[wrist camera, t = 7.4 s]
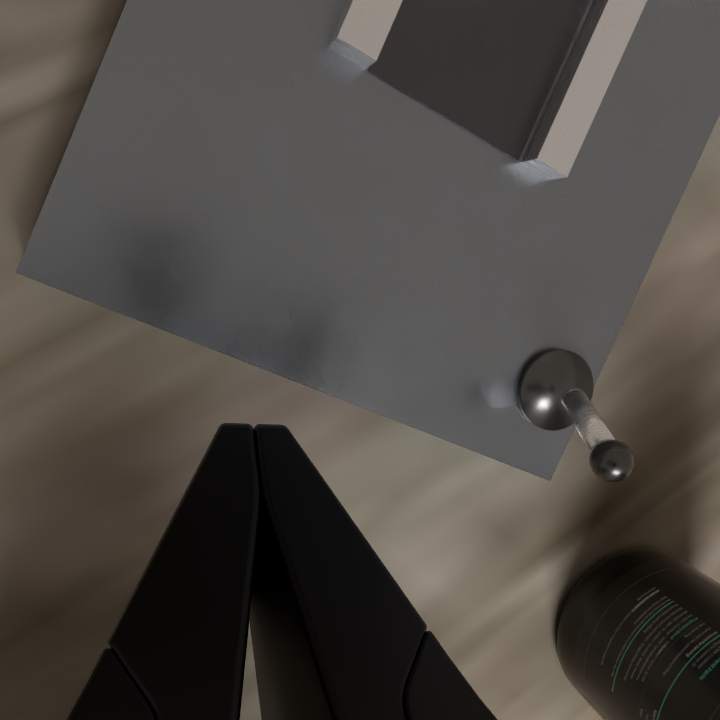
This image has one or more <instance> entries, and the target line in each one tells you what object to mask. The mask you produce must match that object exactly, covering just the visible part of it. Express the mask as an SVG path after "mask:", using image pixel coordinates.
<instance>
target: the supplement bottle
mask: <svg viewBox="0 0 720 720" xmlns="http://www.w3.org/2000/svg"><path fill="white" fill-rule="evenodd" d="M557 650H558V656H559V660H560V663H561V666H562V669H563V671H564V673H565V675H566V677H567V678H568V680H569V681H570V682H571V684H572V685H573V686H574V688H575V689H576V690H577V691H578V692H579V693H580V694H581V696H582V697H583V698H584V699H585V700H586V701H587V702H588V703H589V705H590V706H591V707H592V708H593V709H594V710H595V711H596V712H597V713H598V714H599V715H600V716H601V718H602V719H603V720H720V584H719V583H718V582H716V581H715V580H713V579H711V578H710V577H708V576H707V575H705V574H703V573H702V572H700V571H698V570H697V569H695V568H694V567H692V566H690V565H688V564H687V563H685V562H683V561H682V560H680V559H678V558H677V557H675V556H673V555H671V554H669V553H667V552H664V551H661V550H657V549H652V548H634V549H628V550H624V551H621V552H618V553H615V554H613V555H611V556H609V557H607V558H605V559H603V560H602V561H600V562H599V563H597V564H596V565H595V566H594V567H592V568H591V569H590V570H589V571H588V572H587V573H586V574H585V575H584V576H583V577H582V578H581V579H580V580H579V582H578V583H577V584H576V585H575V587H574V588H573V590H572V591H571V593H570V595H569V597H568V598H567V600H566V603H565V605H564V607H563V610H562V612H561V616H560V619H559V624H558V631H557Z"/></svg>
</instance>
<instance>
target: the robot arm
mask: <svg viewBox="0 0 720 720" xmlns="http://www.w3.org/2000/svg"><path fill="white" fill-rule="evenodd" d="M249 621H250V629H251V637H252V645H253V653H254V661H255V669H256V677H257V686H258V694H259V702H260V710H261V718H262V720H497V719H496V717H495V716H494V715H493V714H492V712H491V711H490V710H489V709H488V708H487V706H486V705H485V704H484V703H483V702H482V700H481V699H480V698H479V697H478V695H477V694H476V693H475V691H474V690H473V689H472V687H471V686H470V685H469V683H468V682H467V681H466V679H465V678H464V677H463V675H462V674H461V672H460V671H459V670H458V668H457V667H456V666H455V664H454V663H453V662H452V660H451V659H450V658H449V656H448V655H447V653H446V652H445V651H444V649H443V648H442V646H441V645H440V643H439V642H438V640H437V639H436V638H435V636H434V635H433V633H432V632H431V631H426V628H427V626H426V624H425V622H424V621H423V620H422V618H421V617H420V615H419V614H418V612H417V611H416V610H415V608H414V607H413V605H412V604H411V603H410V601H409V600H408V598H407V597H406V595H405V594H404V593H403V591H402V590H401V588H400V587H399V585H398V584H397V583H396V581H395V580H394V578H393V577H392V576H391V574H390V573H389V571H388V570H387V568H386V567H385V566H384V564H383V563H382V561H381V560H380V558H379V557H378V556H377V554H376V553H375V551H374V550H373V549H372V547H371V546H370V544H369V543H368V541H367V540H366V539H365V537H364V536H363V534H362V533H361V532H360V530H359V529H358V527H357V526H356V524H355V523H354V522H353V520H352V519H351V517H350V516H349V514H348V513H347V512H346V510H345V509H344V507H343V506H342V505H341V503H340V502H339V500H338V499H337V497H336V496H335V495H334V493H333V492H332V490H331V489H330V487H329V486H328V485H327V483H326V482H325V480H324V479H323V478H322V476H321V475H320V473H319V472H318V470H317V469H316V468H315V466H314V465H313V463H312V462H311V461H310V459H309V458H308V456H307V455H306V453H305V452H304V451H303V449H302V448H301V446H300V445H299V443H298V442H297V441H296V439H295V438H294V436H293V435H292V434H291V432H290V431H289V429H288V428H287V427H286V426H284V425H270V424H258V425H256V426H255V427H254V428H253V427H252V426H251V425H250V424H238V423H223V424H222V425H220V426H219V428H218V430H217V432H216V434H215V435H214V437H213V439H212V441H211V443H210V445H209V447H208V449H207V451H206V453H205V455H204V457H203V459H202V460H201V462H200V464H199V466H198V468H197V470H196V472H195V474H194V476H193V478H192V480H191V482H190V484H189V486H188V487H187V489H186V491H185V493H184V495H183V497H182V499H181V501H180V503H179V505H178V507H177V509H176V511H175V513H174V514H173V516H172V518H171V520H170V522H169V524H168V526H167V528H166V530H165V532H164V534H163V536H162V538H161V539H160V541H159V543H158V545H157V547H156V549H155V551H154V553H153V555H152V557H151V559H150V561H149V563H148V565H147V566H146V568H145V570H144V572H143V574H142V576H141V578H140V580H139V582H138V584H137V586H136V588H135V590H134V592H133V593H132V595H131V597H130V599H129V601H128V603H127V605H126V607H125V609H124V611H123V613H122V615H121V617H120V618H119V620H118V622H117V624H116V626H115V628H114V630H113V632H112V634H111V636H110V638H109V640H108V642H107V648H106V649H104V650H103V651H102V652H101V654H100V656H99V658H98V660H97V662H96V664H95V666H94V668H93V670H92V671H91V673H90V675H89V677H88V679H87V681H86V683H85V685H84V687H83V688H82V690H81V692H80V694H79V695H78V697H77V699H76V701H75V703H74V704H73V706H72V708H71V710H70V712H69V713H68V715H67V717H66V719H65V720H239V719H240V709H241V699H242V689H243V679H244V668H245V658H246V648H247V638H248V628H249Z"/></svg>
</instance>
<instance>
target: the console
mask: <svg viewBox="0 0 720 720" xmlns="http://www.w3.org/2000/svg"><path fill="white" fill-rule="evenodd" d="M719 115H720V0H127V2H126V4H125V7H124V9H123V11H122V14H121V16H120V19H119V21H118V24H117V26H116V29H115V31H114V33H113V36H112V38H111V41H110V43H109V46H108V48H107V51H106V53H105V55H104V58H103V60H102V63H101V65H100V68H99V70H98V73H97V75H96V77H95V80H94V82H93V85H92V87H91V90H90V92H89V95H88V97H87V99H86V102H85V104H84V107H83V109H82V112H81V114H80V117H79V119H78V121H77V124H76V126H75V129H74V131H73V134H72V136H71V139H70V141H69V143H68V146H67V148H66V151H65V153H64V156H63V158H62V161H61V163H60V165H59V168H58V170H57V173H56V175H55V178H54V180H53V183H52V185H51V187H50V190H49V192H48V195H47V197H46V200H45V202H44V205H43V207H42V209H41V212H40V214H39V217H38V219H37V222H36V224H35V227H34V229H33V231H32V234H31V236H30V239H29V241H28V244H27V246H26V249H25V251H24V254H23V256H22V258H21V261H20V263H19V266H18V268H17V271H16V273H18V274H21V275H24V276H26V277H29V278H31V279H34V280H36V281H39V282H42V283H44V284H47V285H49V286H52V287H54V288H57V289H59V290H62V291H65V292H67V293H70V294H72V295H75V296H77V297H80V298H83V299H85V300H88V301H90V302H93V303H95V304H98V305H100V306H103V307H106V308H108V309H111V310H113V311H116V312H118V313H121V314H124V315H126V316H129V317H131V318H134V319H136V320H139V321H141V322H144V323H147V324H149V325H152V326H154V327H157V328H159V329H162V330H165V331H167V332H170V333H172V334H175V335H177V336H180V337H182V338H185V339H188V340H190V341H193V342H195V343H198V344H200V345H203V346H206V347H208V348H211V349H213V350H216V351H218V352H221V353H223V354H226V355H229V356H231V357H234V358H236V359H239V360H241V361H244V362H247V363H249V364H252V365H254V366H257V367H259V368H262V369H264V370H267V371H270V372H272V373H275V374H277V375H280V376H282V377H285V378H288V379H290V380H293V381H295V382H298V383H300V384H303V385H305V386H308V387H311V388H313V389H316V390H318V391H321V392H323V393H326V394H329V395H331V396H334V397H336V398H339V399H341V400H344V401H346V402H349V403H352V404H354V405H357V406H359V407H362V408H364V409H367V410H370V411H372V412H375V413H377V414H380V415H382V416H385V417H387V418H390V419H393V420H395V421H398V422H400V423H403V424H405V425H408V426H410V427H413V428H416V429H418V430H421V431H423V432H426V433H428V434H431V435H434V436H436V437H439V438H441V439H444V440H446V441H449V442H451V443H454V444H457V445H459V446H462V447H464V448H467V449H469V450H472V451H475V452H477V453H480V454H482V455H485V456H487V457H490V458H492V459H495V460H498V461H500V462H503V463H505V464H508V465H510V466H513V467H516V468H518V469H521V470H523V471H526V472H528V473H531V474H533V475H536V476H539V477H541V478H544V479H546V480H549V481H550V480H551V478H552V475H553V473H554V471H555V469H556V467H557V465H558V463H559V460H560V458H561V456H562V454H563V452H564V450H565V447H566V445H567V443H568V441H569V439H570V437H571V434H572V432H573V430H574V428H575V426H574V424H573V422H572V420H571V419H570V417H569V415H568V414H567V412H566V410H565V409H564V407H563V405H562V402H561V397H562V394H563V393H564V391H565V390H567V389H569V388H574V387H575V388H579V389H581V390H582V391H583V392H584V393H585V394H586V396H587V397H588V399H589V400H590V401H591V398H592V394H593V387H594V385H595V383H596V380H597V378H598V376H599V374H600V372H601V370H602V367H603V365H604V363H605V361H606V359H607V357H608V354H609V352H610V350H611V348H612V346H613V344H614V342H615V339H616V337H617V335H618V333H619V331H620V329H621V326H622V324H623V322H624V320H625V318H626V316H627V313H628V311H629V309H630V307H631V305H632V303H633V300H634V298H635V296H636V294H637V292H638V290H639V288H640V285H641V283H642V281H643V279H644V277H645V275H646V272H647V270H648V268H649V266H650V264H651V262H652V259H653V257H654V255H655V253H656V251H657V249H658V246H659V244H660V242H661V240H662V238H663V236H664V234H665V231H666V229H667V227H668V225H669V223H670V221H671V218H672V216H673V214H674V212H675V210H676V208H677V205H678V203H679V201H680V199H681V197H682V195H683V192H684V190H685V188H686V186H687V184H688V182H689V179H690V177H691V175H692V173H693V171H694V169H695V167H696V164H697V162H698V160H699V158H700V156H701V154H702V151H703V149H704V147H705V145H706V143H707V141H708V138H709V136H710V134H711V132H712V130H713V128H714V125H715V123H716V121H717V119H718V117H719Z"/></svg>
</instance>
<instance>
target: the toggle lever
mask: <svg viewBox="0 0 720 720" xmlns="http://www.w3.org/2000/svg"><path fill="white" fill-rule="evenodd" d="M561 402H562V405H563V407H564V409H565V410H566V412H567V414H568V415H569V417H570V419H571V420H572V422H573V424H574V426H575V427H576V429H577V431H578V432H579V434H580V436H581V438H582V439H583V441H584V443H585V444H586V446H587V448H588V449H589V451H590V453H591V454H590V466H591V468H592V470H593V472H594V473H595V474H596V475H597V476H598V477H599V478H601V479H603V480H605V481H609V482H617V481H621V480H623V479H625V478H627V477H628V476H629V475H630V474H631V472H632V470H633V468H634V456H633V453H632V452H631V450H630V449H629V447H628V446H626V445H625V444H624V443H622V442H620V441H617V440H615V439H614V437H613V436H612V434H611V432H610V431H609V429H608V428H607V426H606V425H605V423H604V422H603V420H602V419H601V417H600V416H599V414H598V413H597V411H596V409H595V408H594V406H593V405H592V403H591V402H590V400H589V399H588V397H587V396H586V394H585V393H584V392H583V391H582V390H581V389H579V388H575V387H574V388H569V389H567V390H565V391H564V393H563V394H562V397H561Z"/></svg>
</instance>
